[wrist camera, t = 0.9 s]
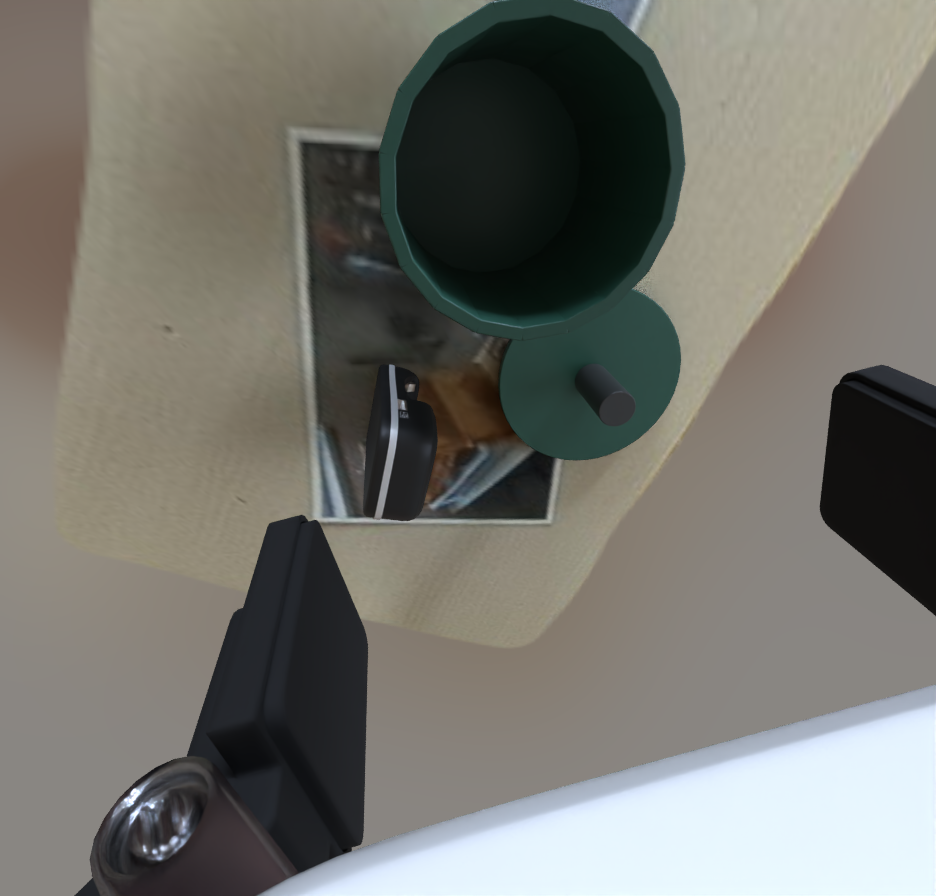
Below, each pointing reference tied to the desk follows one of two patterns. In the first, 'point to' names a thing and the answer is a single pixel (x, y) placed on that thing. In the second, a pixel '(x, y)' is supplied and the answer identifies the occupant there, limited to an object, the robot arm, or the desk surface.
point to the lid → (592, 381)
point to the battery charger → (398, 447)
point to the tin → (531, 167)
